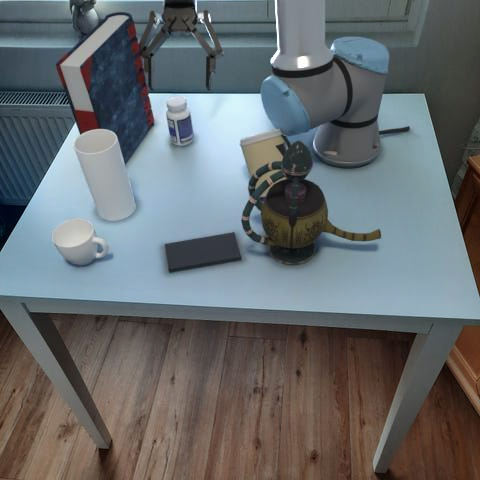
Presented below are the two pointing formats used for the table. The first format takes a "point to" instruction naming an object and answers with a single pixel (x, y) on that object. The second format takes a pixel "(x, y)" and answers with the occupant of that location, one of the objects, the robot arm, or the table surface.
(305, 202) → the teapot
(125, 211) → the cup
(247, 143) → the coffee cup
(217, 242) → the mat
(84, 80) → the book
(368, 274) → the table surface
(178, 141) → the pill bottle
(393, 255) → the table surface
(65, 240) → the cup
